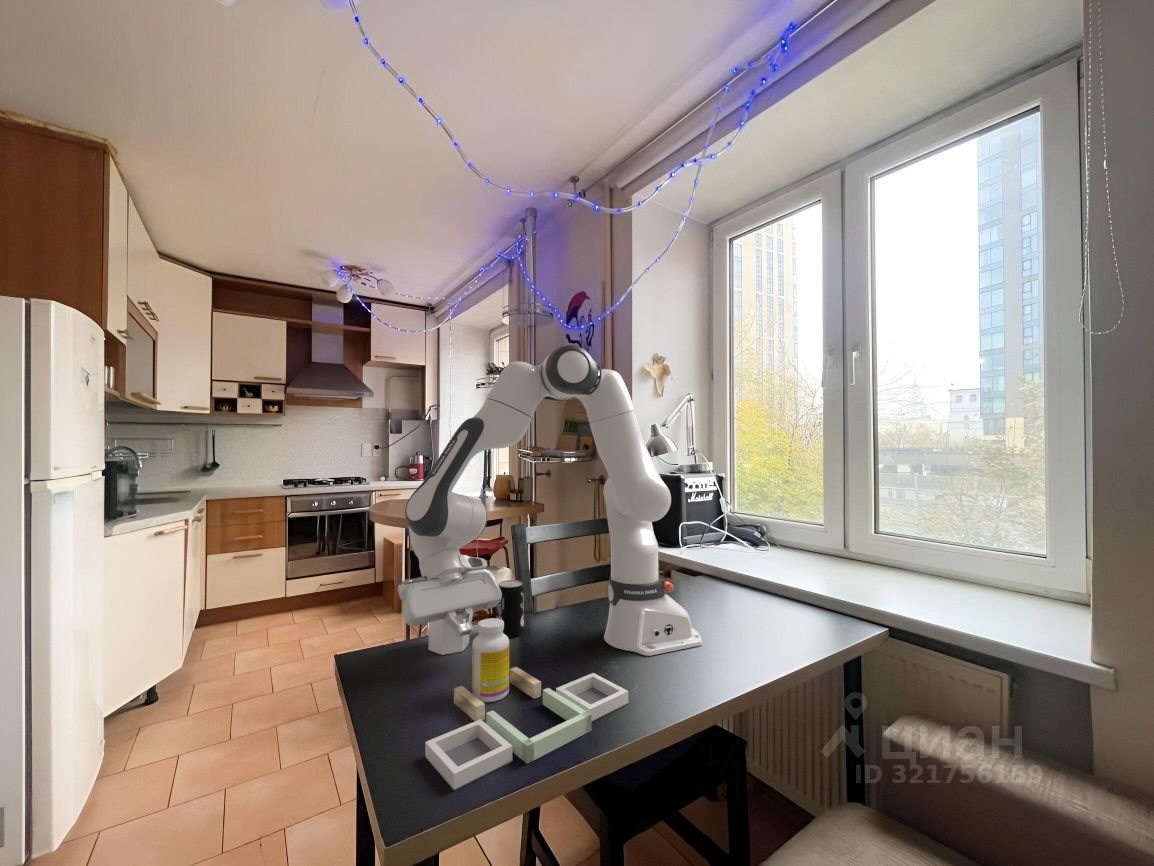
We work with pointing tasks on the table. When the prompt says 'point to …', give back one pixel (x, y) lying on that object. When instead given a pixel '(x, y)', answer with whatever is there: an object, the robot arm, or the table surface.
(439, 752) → the tray
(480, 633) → the supplement bottle
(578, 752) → the table surface
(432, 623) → the jar
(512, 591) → the beverage can
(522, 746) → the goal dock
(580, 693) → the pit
